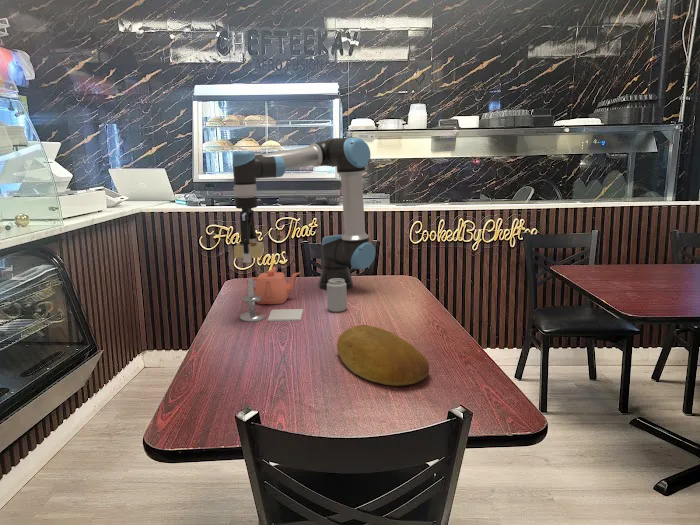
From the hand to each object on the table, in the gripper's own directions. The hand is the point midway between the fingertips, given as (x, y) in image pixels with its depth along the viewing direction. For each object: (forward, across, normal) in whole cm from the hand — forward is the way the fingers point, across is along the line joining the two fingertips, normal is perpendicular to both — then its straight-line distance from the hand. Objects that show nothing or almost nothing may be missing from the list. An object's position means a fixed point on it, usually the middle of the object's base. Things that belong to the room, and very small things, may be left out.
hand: (249, 259), depth 189 cm
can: (+22, -8, +31) cm, 39 cm away
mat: (+22, -2, +12) cm, 25 cm away
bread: (+22, +45, +43) cm, 66 cm away
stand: (+22, 0, 0) cm, 22 cm away
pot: (+22, -23, +5) cm, 32 cm away
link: (-2, 0, 0) cm, 2 cm away
